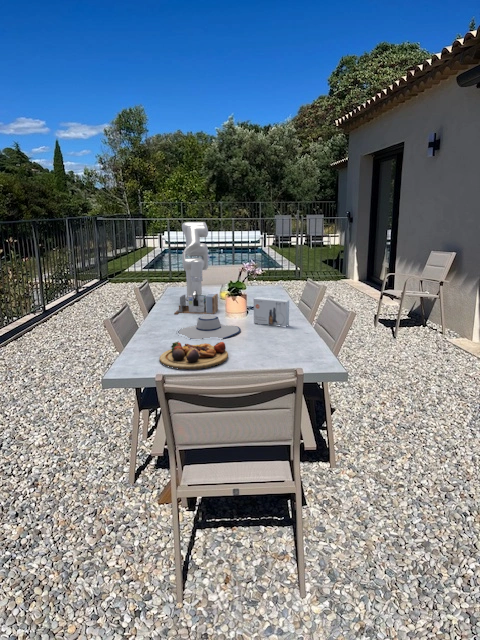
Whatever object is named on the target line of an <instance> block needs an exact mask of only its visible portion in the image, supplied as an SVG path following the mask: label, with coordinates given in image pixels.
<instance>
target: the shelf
mask: <svg viewBox="0 0 480 640" xmlns="http://www.w3.org/2000/svg"><path fill="white" fill-rule="evenodd" d="M214 294H215V295H214V296H213V297H212V311H213V313H206V311H205V312H204V313H201V312H189V305H186V310H184V311H183V312H177V311H178V310H179V309H180V304H179V305H178V309H177V310H176V311H175V312H174V313H173V314H174V315H180V314H194V315H195V314H201V315H216V313H217V312H218V310H219V301H218V300H219V297H218V295H219V294H218V293H214Z"/></svg>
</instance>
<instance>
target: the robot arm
mask: <svg viewBox="0 0 480 640" xmlns="http://www.w3.org/2000/svg"><path fill="white" fill-rule="evenodd" d="M181 229H182V230H181V231H182V232H183V234H184V238H185V248H184V250H183V251H182V255H181V259H182V260H181V262H182V268H183V269H184V270H185V275H186V295H187V296H185V298H186V301H188V297H189V296H190V295H192V297H193V306H198V297H199V296H200V295H203V294H202V292H203V288H202V287H203V286H202V282H203V278H204V277H203V271H206V270H208V268H209V250H208V245H207V244H206V243H203V242H201V238H207V237H208V236H209V235H208V234H209V229H208V226H207V223H206V222H205V221H186V222H185V221H184V222H183V223H182V224H181ZM187 256H188V258H187ZM196 297H197V298H196Z"/></svg>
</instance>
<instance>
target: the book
mask: <svg viewBox="0 0 480 640" xmlns="http://www.w3.org/2000/svg"><path fill="white" fill-rule="evenodd" d="M215 294H216V293H208V294H207V295H206V313H213V311H212V297H213V296H214V295H215Z"/></svg>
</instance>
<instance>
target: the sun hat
mask: <svg viewBox="0 0 480 640" xmlns="http://www.w3.org/2000/svg"><path fill="white" fill-rule="evenodd" d="M197 319H198V320H197V322H196V325H193V326H191V325H190V326H187V327H183V329H182V328H179V329H180V330H179V329H178V330H179V331H178V330H177V331H178V333H179V334H182V335H185V336H187V337H188V338H190V339H189V340H191V339H202V338H210V337H218V338H224V339H227V338H230V337H232V336H235V335H237V334H239V333H240V332H241V331H242V330H241V327H239V326H237V325H226V326H225V325H224V324H223V323H221V320H220V319H219V317H218V316H217V315H215V314H204V315H202V316H199V317H198V318H197Z"/></svg>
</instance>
